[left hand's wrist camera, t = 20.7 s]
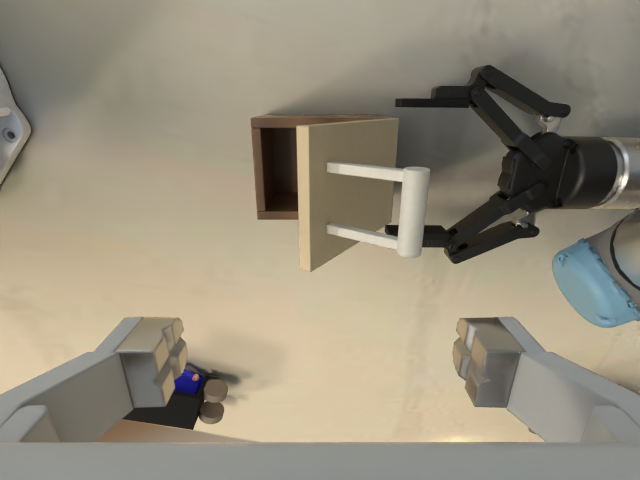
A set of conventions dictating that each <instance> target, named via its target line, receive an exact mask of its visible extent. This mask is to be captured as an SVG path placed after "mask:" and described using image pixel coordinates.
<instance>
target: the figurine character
mask: <svg viewBox="0 0 640 480" xmlns="http://www.w3.org/2000/svg"><path fill="white" fill-rule="evenodd" d="M182 374H183V375H181V376H180V377H179V378H177V379H176V380H174V384H175V389H174V391H173V393H172V395H171V397H170V399H169V401H168V403H167V405H166V406H165V407H140V408H133V410H132V411H131V412H130V413H128V414H127V415H126V416H125V417H124V418H122V419H125V420H132V421H138V422H145V423H152V424H158V425H165V426H171V427H178V428H185V429H191V430H193V428H194V425H195V423H196V420H197V418H198V416H199V418H200V420H201V421H202V422H204V423H207V424H215V423H218V422H219V421H220V420H221V419H222V417H223V413H224V407H223V405H222V404H221V403H219V402H221V401H223V400H224V399H225V398H226V395H227V391H228V386H227V384H226V383H225V382H223V381H221V380H217V379H218V378H219V377H218V376H215V375H206V374H201V375H198V374H194V373H191V372H189V371H187V370H185V369H184V371H183V373H182ZM199 376H200V377H201V379H200V377H199ZM209 379H213V380H209ZM208 380H209V381H208ZM204 399H205V400H206V402H204Z"/></svg>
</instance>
